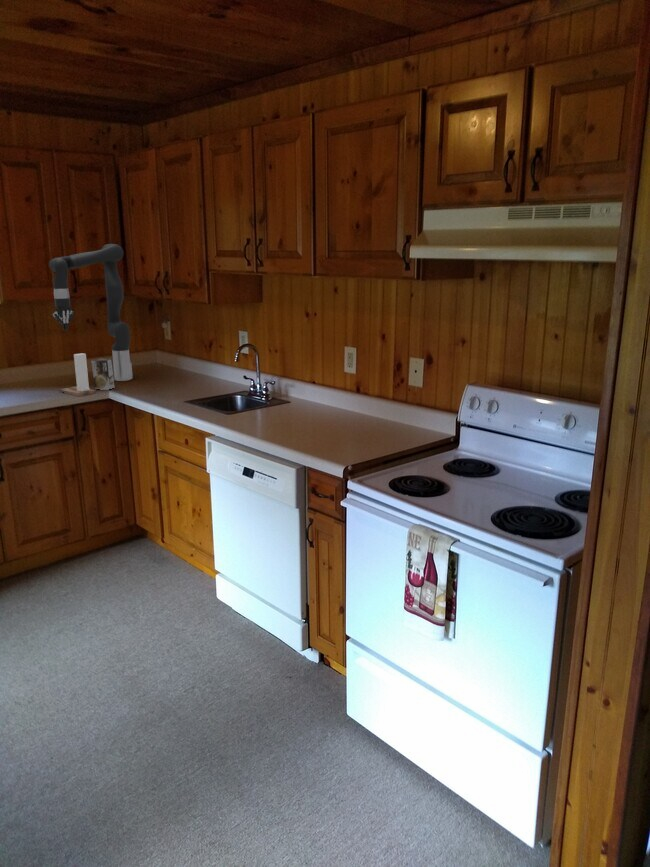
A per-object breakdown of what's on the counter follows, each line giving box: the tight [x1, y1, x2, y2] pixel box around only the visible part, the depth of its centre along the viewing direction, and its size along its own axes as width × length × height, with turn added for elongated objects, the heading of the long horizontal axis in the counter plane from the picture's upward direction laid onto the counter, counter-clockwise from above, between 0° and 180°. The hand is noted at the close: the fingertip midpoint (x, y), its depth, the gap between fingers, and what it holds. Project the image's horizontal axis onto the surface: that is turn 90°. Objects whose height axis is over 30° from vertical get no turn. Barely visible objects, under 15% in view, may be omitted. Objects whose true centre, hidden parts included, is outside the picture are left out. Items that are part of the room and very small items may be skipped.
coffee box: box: [91, 358, 116, 391], centre depth 354 cm, size 9×6×16 cm
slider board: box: [58, 385, 97, 397], centre depth 347 cm, size 10×17×2 cm, turn 56°
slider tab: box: [73, 352, 91, 392], centre depth 341 cm, size 5×4×19 cm
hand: (65, 330), depth 352 cm, fingers closed
